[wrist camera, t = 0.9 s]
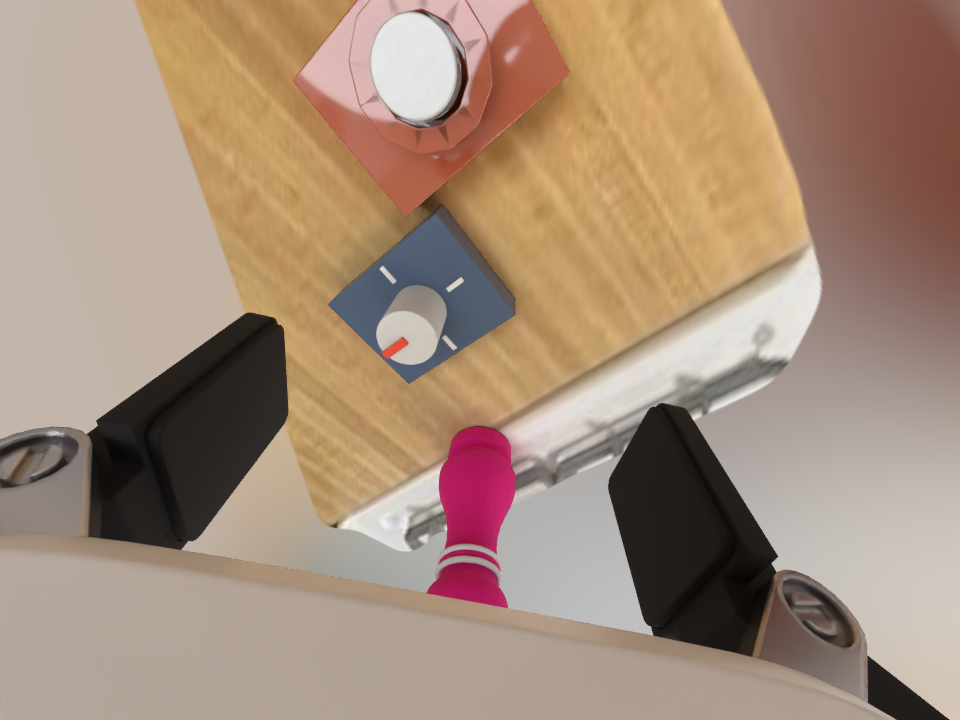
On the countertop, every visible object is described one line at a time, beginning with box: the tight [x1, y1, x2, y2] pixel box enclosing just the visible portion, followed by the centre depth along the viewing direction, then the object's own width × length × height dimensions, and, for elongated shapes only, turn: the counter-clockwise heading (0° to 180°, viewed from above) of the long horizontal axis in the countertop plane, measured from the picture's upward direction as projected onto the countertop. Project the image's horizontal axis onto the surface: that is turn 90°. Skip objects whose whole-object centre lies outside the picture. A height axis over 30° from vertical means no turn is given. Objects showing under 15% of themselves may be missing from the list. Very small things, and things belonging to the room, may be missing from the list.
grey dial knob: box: [376, 285, 447, 365], centre depth 27 cm, size 4×4×5 cm
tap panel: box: [328, 205, 515, 384], centre depth 30 cm, size 11×9×3 cm
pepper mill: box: [427, 427, 516, 608], centre depth 32 cm, size 7×7×20 cm
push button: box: [370, 12, 462, 121], centre depth 18 cm, size 4×4×2 cm
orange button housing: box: [293, 0, 570, 217], centre depth 21 cm, size 12×9×6 cm
